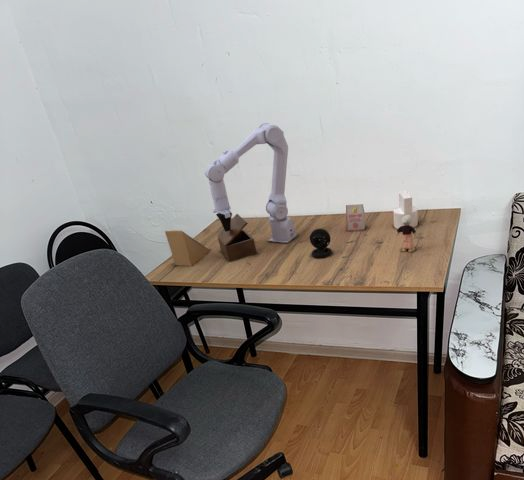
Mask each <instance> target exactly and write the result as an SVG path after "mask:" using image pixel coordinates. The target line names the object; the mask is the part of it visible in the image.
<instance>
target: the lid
mask: <svg viewBox="0 0 524 480" xmlns="http://www.w3.org/2000/svg"><path fill="white" fill-rule="evenodd" d="M248 224H249V223H248V222H247V220H245V219H244V218H242V216H240V215H239V214H238V213H236V214H235V215H234V216H233V217H231V230H230V231H227V232H226V231H225V230H224V228H223V227H222V229H221V230H220V231H219V232H218V233H217V235H216V236H217V238H218V237H219V239H220V240H221V241H222V242H223V244H224V245H225V246H227V245H228V244H229V243H230V242H231V241H232V240H233V239H234V238H235V237H236V236H237V235H238V234H239V232H240V231H241V230H243V229H244V228H246V226H247V225H248Z"/></svg>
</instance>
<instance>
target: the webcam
mask: <svg viewBox="0 0 524 480" xmlns="http://www.w3.org/2000/svg"><path fill="white" fill-rule="evenodd" d="M331 239H332V238H331V235H330V233H329V231H328V230H326V229H324V228H316V229H314V230H313V231H311V233H310V234H309V242H310V244H311V245H312V247H313V248H315V249H313V250H312V252H311V256H312V257H313V258H316V259H323V258H327V257H329V256H331V254H332V253H333V251H332V249H331V248H330V247H328V246H329V245H330V243H331Z"/></svg>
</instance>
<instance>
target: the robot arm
mask: <svg viewBox="0 0 524 480" xmlns="http://www.w3.org/2000/svg"><path fill="white" fill-rule="evenodd" d="M266 144H267V145H268V146H269V147H270V148H271V150H273V161H272V163H273V164H272V175H271V189H270V190H271V191H270V194H269V196H268V200H267V202H266V204H265V211H266V213H267V214H269V216H268V217H269V218H268V219H269V224H270V230H271V236H272V237H271V238H269V239H268V242H272V243H282V244H283V243H284V244H288V243H289V242H291V241H292V240H293V239H295V238H296V237H297V236H298V234H296V233H297V232H296V226H295V221H294V219H292V218H290V217H288V213H289V209H288V206H287V199H286V196H285V190H286V181H287V179H286V178H287V167H288V158H289V157H288V155H289V145H288V142H287V140H286V137H285V134H284V131H283V129H281V128H280V127H279V126H277V125H276V124H270V123H268V122H264V123H261V124H260V125H259V126H258V127H256V128H255V129H253V131H252V132H251V133H250V134H248V136H247V137H246V138H244V140H242V141H241V142H240V143H239V144H238V145H237V146H236V147H235V148H234V149H227V150H223V152H222V154H221V156H219V157H218V158H217V159H214V160H213V161H212V162H213V163H209V164H208V165H207V166H206V168H205V170H204V175H205V177H206V178H207V179H208V184H209V189H210V193H211V197H212V201H213V205H214V209H212V213H213V214H214V213H215V216H216V217H217V218H218V220H219V221H220V224H221V225H222V229H223V228H224V230H225V231H226V232H227V231H230V230H231V220H232V216H233V213H232V211H231V209H232V208H231V206H230V201H229V196H228V192H227V188H226V184H225V180H224V178H225V174H227V173H228V172H229V171H230V170H232V169H233V168H234V167H235V166H237V165H238V164H239V161H240V158H241V157H243V155H245V154H246V153H248V151H250V150H251V149H252V148H254V147H255V146H256V145H266Z"/></svg>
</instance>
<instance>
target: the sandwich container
mask: <svg viewBox="0 0 524 480" xmlns="http://www.w3.org/2000/svg"><path fill="white" fill-rule="evenodd" d="M164 233H165V236H166V237H165V238H166V239H167V243H168V246H169V249H170V253H171V255H172V258H173V260H174V264H175V266H183V267H184V266H186V267H192V266H193V265H195V264H196V263H197V262H199V261H200V260H201V259H202V258H203V257H204V256H205V255H207V254H208V253H209V252H210V251H211V249H209V248H208V247H206V246H205V245H203V244H202V243H201V242H199V241H197V240H196V239H194V238H193V237H191V236H190V235H189V234H187V233H186V232H184V231H183V230H178V229H177V230H174V229H172V230H164Z"/></svg>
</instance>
